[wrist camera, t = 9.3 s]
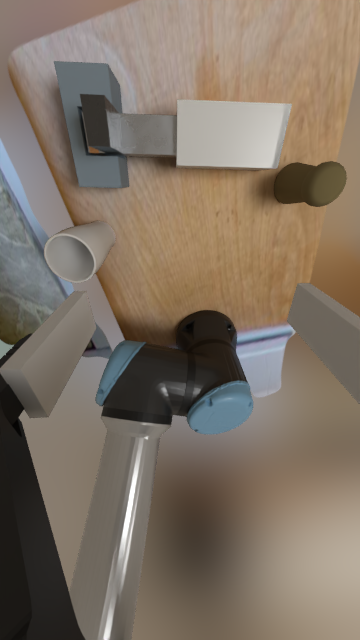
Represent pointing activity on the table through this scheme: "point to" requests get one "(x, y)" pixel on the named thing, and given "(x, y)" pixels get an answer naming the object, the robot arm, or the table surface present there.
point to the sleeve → (230, 134)
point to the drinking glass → (79, 250)
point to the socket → (72, 84)
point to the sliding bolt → (126, 131)
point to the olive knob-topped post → (310, 183)
